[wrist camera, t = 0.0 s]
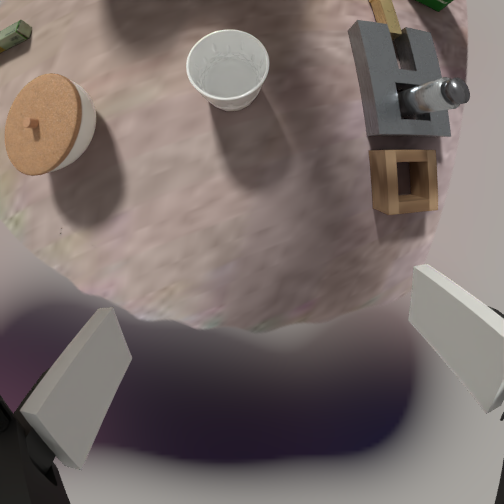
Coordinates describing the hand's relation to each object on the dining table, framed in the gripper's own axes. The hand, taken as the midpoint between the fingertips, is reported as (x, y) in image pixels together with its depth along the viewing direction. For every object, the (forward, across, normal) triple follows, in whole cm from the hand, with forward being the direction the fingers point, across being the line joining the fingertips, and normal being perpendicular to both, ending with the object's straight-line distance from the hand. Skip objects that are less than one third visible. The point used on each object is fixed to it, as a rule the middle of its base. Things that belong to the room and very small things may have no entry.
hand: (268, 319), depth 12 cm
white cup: (+28, 0, +16) cm, 32 cm away
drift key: (+27, +23, +27) cm, 45 cm away
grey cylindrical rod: (+27, +23, +13) cm, 38 cm away
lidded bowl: (+28, -23, +16) cm, 40 cm away
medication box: (+28, -38, +39) cm, 61 cm away
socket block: (+27, +23, +15) cm, 39 cm away
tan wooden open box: (+27, +21, +2) cm, 34 cm away
